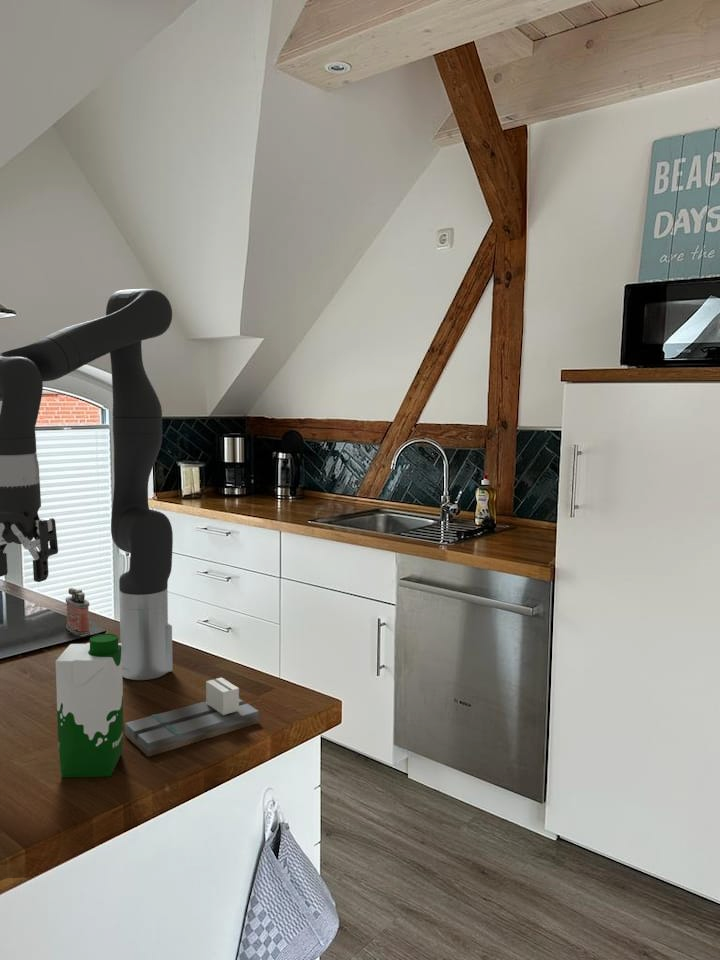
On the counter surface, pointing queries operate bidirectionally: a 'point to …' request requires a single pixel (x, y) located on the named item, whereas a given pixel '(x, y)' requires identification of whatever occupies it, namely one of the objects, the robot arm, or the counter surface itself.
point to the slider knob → (222, 696)
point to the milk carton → (90, 707)
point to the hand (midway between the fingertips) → (20, 578)
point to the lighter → (77, 612)
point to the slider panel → (186, 726)
